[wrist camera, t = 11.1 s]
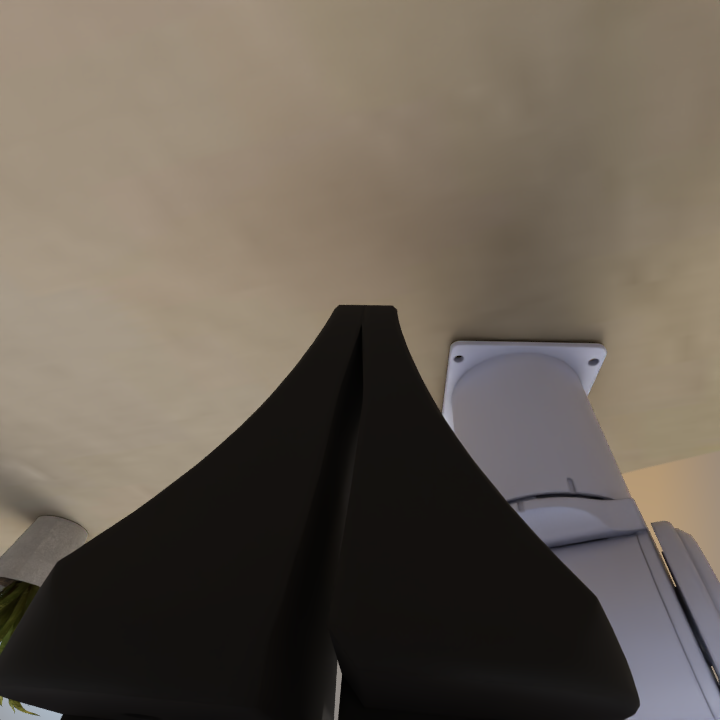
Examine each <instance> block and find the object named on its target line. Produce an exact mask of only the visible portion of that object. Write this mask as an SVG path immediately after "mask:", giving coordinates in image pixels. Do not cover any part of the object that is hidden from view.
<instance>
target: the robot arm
mask: <svg viewBox="0 0 720 720" xmlns="http://www.w3.org/2000/svg"><path fill="white" fill-rule="evenodd" d="M458 355H460V356H462V357H460V358H456V356H458ZM606 355H607V351H606V349H605V347H604V345H602V344H599V343H555V342H502V341H456V342H454V343H453V344H452V345H451V346H450V351H449V359H448V368H447V376H446V384H445V392H444V400H443V408H442V413H441V412H440V410H439V408H438V407H437V405H436V403H435V402H434V400H433V398H432V396H431V395H430V393H429V391H428V389H427V387H426V386H425V384H424V382H423V380H422V378H421V376H420V374H419V372H418V370H417V367H416V365H415V363H414V361H413V359H412V357H411V354H410V352H409V350H408V347H407V345H406V342H405V339H404V336H403V334H402V331H401V327H400V324H399V319H398V314H397V309H396V308H394V307H393V306H383V305H339V306H338V307H336V308H335V309H334V311H333V313H332V315H331V316H330V318H329V320H328V321H327V323H326V324H325V326H324V327H323V329H322V331H321V332H320V333H319V335H318V336H317V338H316V339H315V341H314V342H313V344H312V345H311V346H310V348H309V349H308V350H307V352H306V353H305V354H304V356H303V357H302V358H301V360H300V361H299V362H298V364H297V365H296V366H295V367H294V369H293V370H292V371H291V372H290V373H289V375H288V376H287V377H286V378H285V379H284V380H283V382H282V383H281V384H280V385H279V386H278V388H277V389H276V390H275V391H274V392H273V393H272V394H271V396H270V397H269V398H268V399H267V400H266V401H265V402H264V403H263V404H262V405H261V406H260V407H259V408H258V409H257V410H256V411H255V412H254V413H253V414H252V415H251V416H250V417H249V418H248V419H247V420H246V421H245V422H244V423H243V424H242V425H241V426H240V427H239V428H238V429H237V430H236V431H235V432H234V433H232V434H231V435H230V436H229V437H228V438H227V439H226V440H225V441H224V442H222V443H221V444H220V445H219V446H218V447H217V448H216V449H215V450H213V451H212V452H211V453H210V454H209V455H208V456H206V457H205V458H204V459H203V460H202V461H200V462H199V463H198V464H197V465H196V466H194V467H193V468H192V469H190V470H189V471H188V472H186V473H185V474H184V475H183V476H181V477H180V478H179V479H177V480H176V481H175V482H173V483H172V484H171V485H169V486H168V487H167V488H165V489H164V490H163V491H162V492H160V493H159V494H158V495H156V496H155V497H154V498H152V499H151V500H150V501H148V502H147V503H145V504H144V505H143V506H141V507H140V508H138V509H137V510H136V511H134V512H133V513H131V514H130V515H128V516H127V517H125V518H124V519H122V520H121V521H119V522H118V523H116V524H115V525H113V526H112V527H110V528H109V529H107V530H105V531H104V532H102V533H101V534H99V535H98V536H96V537H95V538H93V539H92V540H90V541H89V542H87V543H86V544H84V545H83V546H81V547H80V548H78V549H77V550H75V551H73V552H72V553H70V554H69V555H67V556H65V557H64V558H62V559H61V560H59V561H57V563H56V564H55V566H54V567H53V569H52V570H51V572H50V573H49V575H48V576H47V578H46V579H45V581H44V582H43V584H42V585H41V587H40V588H39V590H38V591H37V593H36V595H35V596H34V598H33V600H32V602H31V603H30V605H29V607H28V608H27V610H26V612H25V614H24V615H23V617H22V619H21V620H20V622H19V624H18V625H17V627H16V629H15V631H14V632H13V634H12V636H11V637H10V639H9V641H8V643H7V644H6V646H5V648H4V649H3V651H2V653H1V654H0V696H2V697H5V698H8V699H11V700H15V701H18V702H22V703H25V704H29V705H32V706H36V707H39V708H43V709H47V710H50V711H54V712H57V713H61V714H63V716H62V718H61V720H334V708H335V691H336V675H337V660H338V663H339V666H340V669H341V672H342V682H341V693H340V704H339V717H338V720H720V583H719V581H718V579H717V578H716V575H715V574H714V572H713V570H712V568H711V566H710V564H709V563H708V561H707V559H706V557H705V556H704V554H703V552H702V551H701V549H700V547H699V545H698V544H697V542H696V541H695V539H694V538H693V537H692V536H691V535H690V534H688V533H686V532H684V531H682V530H680V529H678V528H674V527H673V526H672V524H671V523H670V522H668V521H660V522H654V523H651V525H652V527H653V530H654V532H655V534H656V536H657V538H658V541H659V543H660V545H661V547H662V550H663V551H662V555H663V557H664V559H665V562H666V564H667V566H668V568H669V571H670V573H671V575H672V577H673V580H674V582H675V584H676V586H677V587H675V586H674V584H673V582H672V579H671V577H670V575H669V573H668V570H667V568H666V566H665V564H664V562H663V560H662V557H661V555H660V553H659V551H658V548H657V546H656V544H655V542H654V540H653V538H652V536H651V533H650V531H649V530H648V527H647V525H646V523H645V521H644V519H643V517H642V515H641V513H640V511H639V509H638V507H637V505H636V502H635V500H634V499H633V498H632V497H631V495H630V493H629V491H628V488H627V486H626V484H625V481H624V479H623V477H622V474H621V472H620V470H619V468H618V465H617V463H616V461H615V459H614V456H613V454H612V452H611V450H610V447H609V445H608V443H607V441H606V438H605V436H604V434H603V431H602V429H601V427H600V425H599V422H598V420H597V418H596V416H595V413H594V411H593V409H592V407H591V404H590V402H589V400H588V398H587V396H588V394H589V392H590V390H591V387H592V385H593V383H594V381H595V379H596V376H597V374H598V372H599V370H600V368H601V366H602V363H603V361H604V359H605V357H606ZM594 358H595V359H594ZM591 359H594V360H592V361H589V360H591ZM711 666H713V668H714V670H715V672H716V674H717V676H718V679H719V683H718V681H717V679H716V677H715V675H714V673H713V670H712V668H711Z"/></svg>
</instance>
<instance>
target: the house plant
mask: <svg viewBox="0 0 720 720" xmlns="http://www.w3.org/2000/svg"><path fill="white" fill-rule="evenodd" d="M87 536H88V533H87V531H86V530H85V529H84V528H83V527H81V526H80V525H78V524H76V523H74V522H72V521H69V520H67V519H63V518H60V517H55V516H41V517H38V518H37V519H36V520H35V522H34V523H33V524H32V525H31V526H30V527H29V528H28V529H27V530H26V531H25V532H24V533H23V534H22V535H21V536H20V537H19V538H18V539H17V540H16V541H15V543H14V544H13V545H12V546H11V547H10V548H9V549H8V550H7V551H6V552H5V553H4V554H3V555H2V556H1V557H0V642H1V641H2V642H1V645H0V654H1V653H2V651H3V649H4V648H5V646H6V644H7V643H8V641H9V639H10V637H11V636H12V634H13V632H14V631H15V629H16V627H17V625H18V624H19V622H20V620H21V619H22V617H23V615H24V614H25V612H26V610H27V608H28V607H29V605H30V603H31V602H32V600H33V598H34V596H35V595H36V593H37V591H38V590H39V588H40V587H41V585H42V584H43V582H44V581H45V579H46V578H47V576H48V575H49V573H50V572H51V570H52V569H53V567H54V566H55V564H56V563H57V561H59V560H61V559H62V558H64V557H65V556H67V555H69V554H70V553H72V552H73V551H75V550H77V549H78V548H80V547H81V546H83V545H84V543H85V541H86V538H87ZM2 700H3V697H2V696H0V705H1V706H2ZM9 704H10V706H11V707H12V709H13V710H14V707H15V708H17V709H18V710H20V711H22V712H25V713H28V714H33V715H37V714H34V713H31V712H28V711H26V710H25V709H24V708H23V707H22V706H21V704H20V702H18V701H15V700H11V699H9ZM13 706H14V707H13ZM14 712H15V710H14Z"/></svg>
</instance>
